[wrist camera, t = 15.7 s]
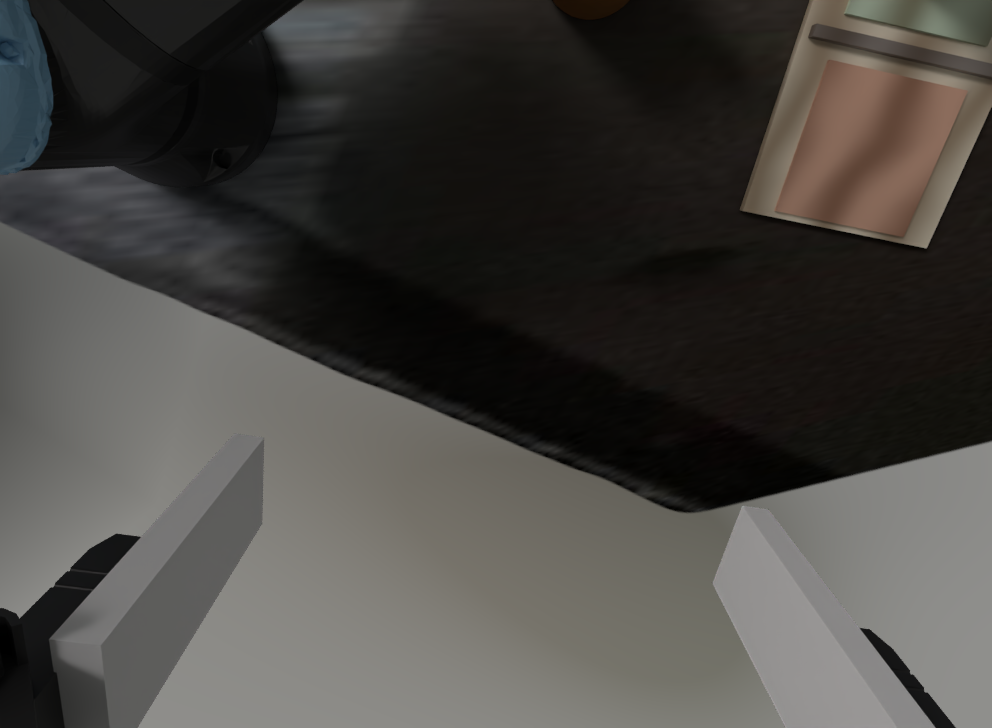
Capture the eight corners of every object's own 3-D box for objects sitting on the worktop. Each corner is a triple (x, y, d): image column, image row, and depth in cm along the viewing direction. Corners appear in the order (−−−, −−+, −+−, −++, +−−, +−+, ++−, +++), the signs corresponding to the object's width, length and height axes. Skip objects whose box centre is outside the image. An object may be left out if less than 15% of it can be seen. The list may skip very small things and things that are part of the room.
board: (739, 210, 46) (746, 211, 45) (873, -191, 37) (885, -202, 36) (921, 247, 47) (932, 249, 46) (1094, -133, 38) (1113, -142, 37)
